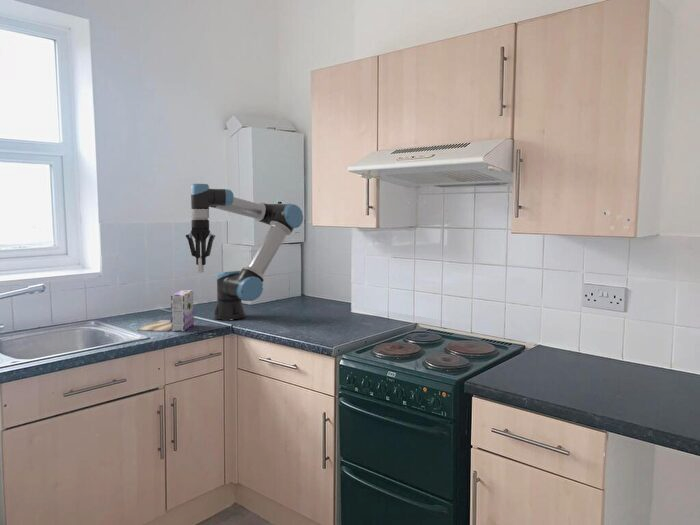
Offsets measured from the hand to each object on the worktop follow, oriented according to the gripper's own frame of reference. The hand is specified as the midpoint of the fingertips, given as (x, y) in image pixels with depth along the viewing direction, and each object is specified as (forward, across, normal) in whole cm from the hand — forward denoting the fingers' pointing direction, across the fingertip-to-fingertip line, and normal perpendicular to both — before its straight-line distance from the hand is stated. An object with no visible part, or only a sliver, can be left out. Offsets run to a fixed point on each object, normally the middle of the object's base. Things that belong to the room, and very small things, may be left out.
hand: (201, 272), depth 248 cm
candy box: (+26, +9, 0) cm, 27 cm away
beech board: (+26, +20, 0) cm, 32 cm away
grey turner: (+26, +18, -12) cm, 34 cm away
